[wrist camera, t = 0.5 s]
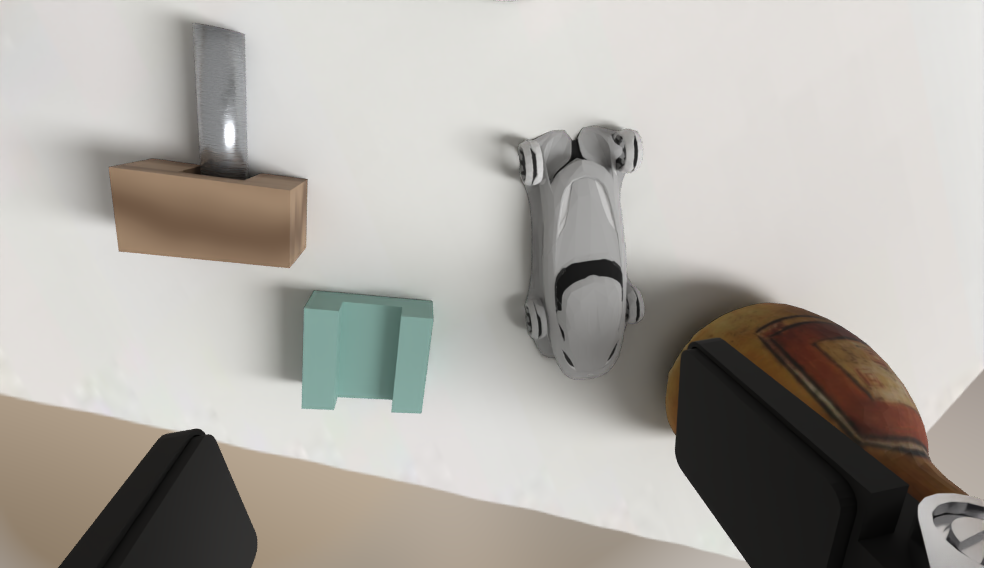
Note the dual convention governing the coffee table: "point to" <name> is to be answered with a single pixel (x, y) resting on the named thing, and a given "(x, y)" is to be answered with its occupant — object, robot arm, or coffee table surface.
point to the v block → (365, 349)
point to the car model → (580, 246)
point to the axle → (221, 101)
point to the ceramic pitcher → (830, 385)
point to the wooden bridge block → (208, 214)
